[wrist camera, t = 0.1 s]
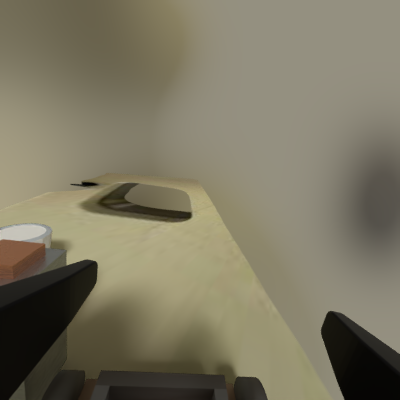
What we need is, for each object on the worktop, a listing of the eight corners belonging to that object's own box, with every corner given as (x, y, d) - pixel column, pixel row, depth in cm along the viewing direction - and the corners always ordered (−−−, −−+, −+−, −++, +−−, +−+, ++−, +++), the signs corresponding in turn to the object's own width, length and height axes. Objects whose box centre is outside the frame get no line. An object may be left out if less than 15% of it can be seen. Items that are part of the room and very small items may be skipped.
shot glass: (-17, 297, 24) (-23, 247, 23) (-4, 267, 30) (-8, 224, 28) (52, 283, 28) (51, 239, 27) (53, 258, 34) (52, 221, 32)
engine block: (27, 427, 15) (16, 277, 12) (-48, 426, 14) (-81, 269, 11) (66, 358, 19) (66, 239, 16) (11, 355, 19) (0, 232, 16)
